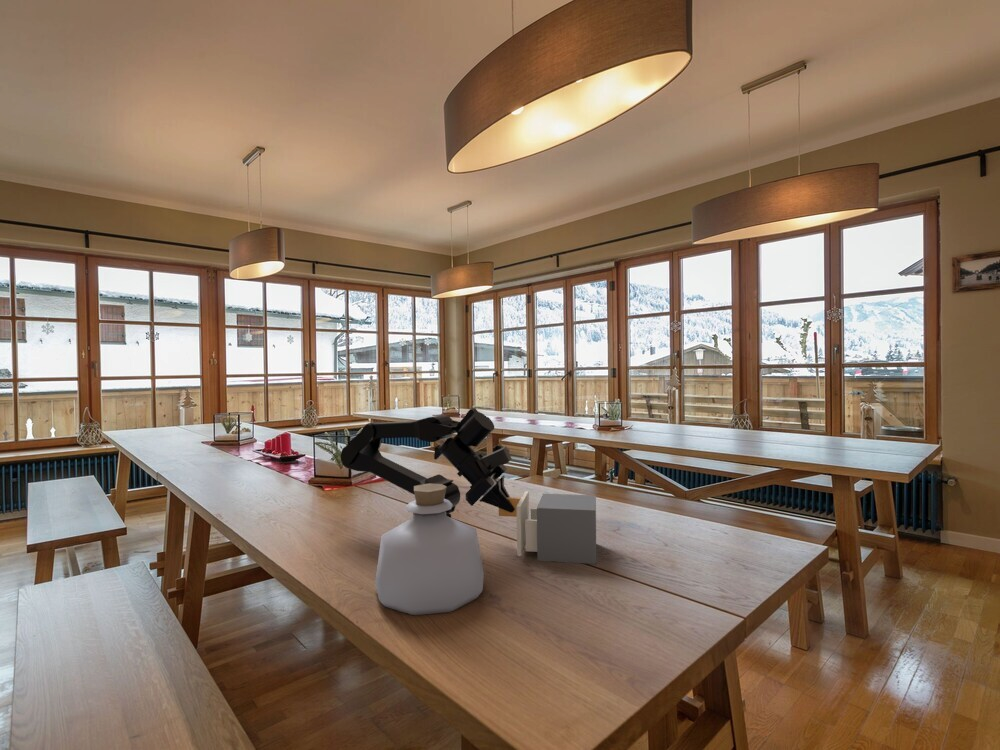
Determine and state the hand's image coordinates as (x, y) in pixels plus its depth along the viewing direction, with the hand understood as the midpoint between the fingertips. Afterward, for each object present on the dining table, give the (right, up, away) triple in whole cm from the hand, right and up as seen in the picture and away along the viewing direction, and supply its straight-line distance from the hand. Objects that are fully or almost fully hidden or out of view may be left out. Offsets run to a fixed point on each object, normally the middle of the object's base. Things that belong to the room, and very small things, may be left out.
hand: (513, 510), depth 111 cm
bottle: (-16, -9, -20) cm, 27 cm away
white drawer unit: (+5, -8, -1) cm, 9 cm away
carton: (+12, -8, -2) cm, 15 cm away
